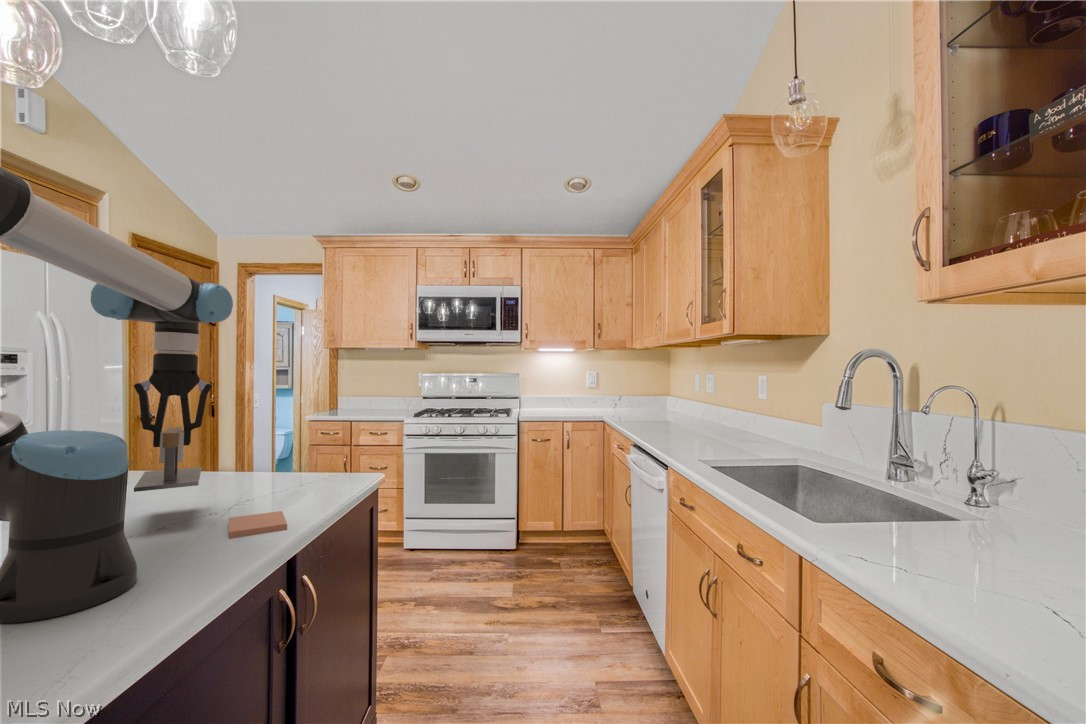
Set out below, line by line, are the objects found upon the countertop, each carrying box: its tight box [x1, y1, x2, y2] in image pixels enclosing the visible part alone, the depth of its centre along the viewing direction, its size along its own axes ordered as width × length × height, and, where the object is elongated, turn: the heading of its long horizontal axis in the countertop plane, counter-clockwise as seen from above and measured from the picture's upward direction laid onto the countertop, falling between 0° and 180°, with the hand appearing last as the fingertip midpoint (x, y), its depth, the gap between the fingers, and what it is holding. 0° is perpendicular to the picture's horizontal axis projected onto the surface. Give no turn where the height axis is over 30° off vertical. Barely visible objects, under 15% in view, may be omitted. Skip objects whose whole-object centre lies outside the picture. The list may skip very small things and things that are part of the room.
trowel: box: [133, 426, 202, 493], centre depth 97 cm, size 16×10×11 cm, turn 36°
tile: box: [227, 510, 288, 539], centre depth 95 cm, size 2×10×10 cm
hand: (171, 461), depth 97 cm, fingers closed on trowel, 2 cm apart
